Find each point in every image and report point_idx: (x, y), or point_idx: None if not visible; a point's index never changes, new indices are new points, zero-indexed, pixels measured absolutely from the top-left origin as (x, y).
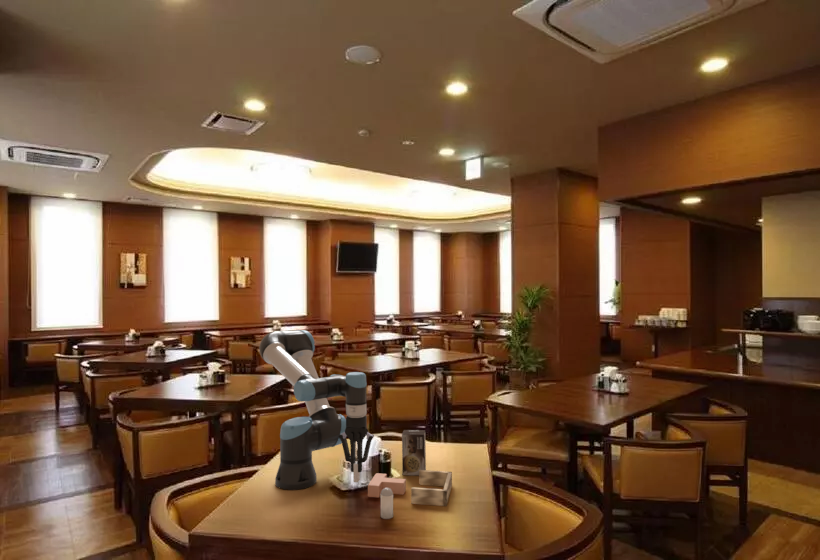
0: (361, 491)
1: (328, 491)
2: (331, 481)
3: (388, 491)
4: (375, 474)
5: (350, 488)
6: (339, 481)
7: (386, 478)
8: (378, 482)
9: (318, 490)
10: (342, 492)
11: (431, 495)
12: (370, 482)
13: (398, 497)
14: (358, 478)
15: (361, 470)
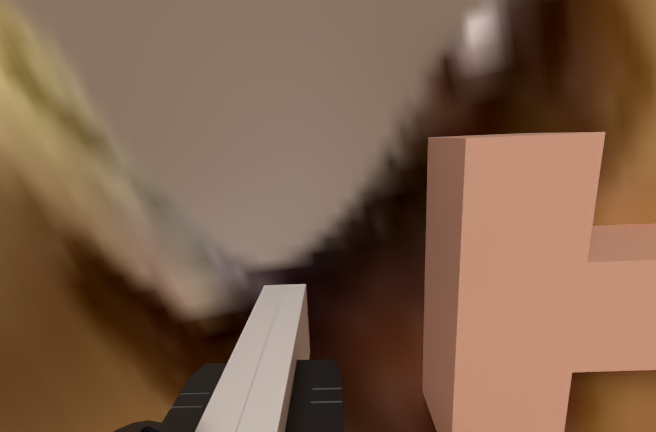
0: (348, 317)
1: (106, 364)
2: (12, 168)
3: None
4: (466, 185)
5: (242, 280)
6: (80, 153)
7: (617, 281)
8: (541, 395)
9: (25, 362)
10: (214, 361)
11: None
12: (460, 409)
13: None
14: (306, 335)
15: (342, 400)
